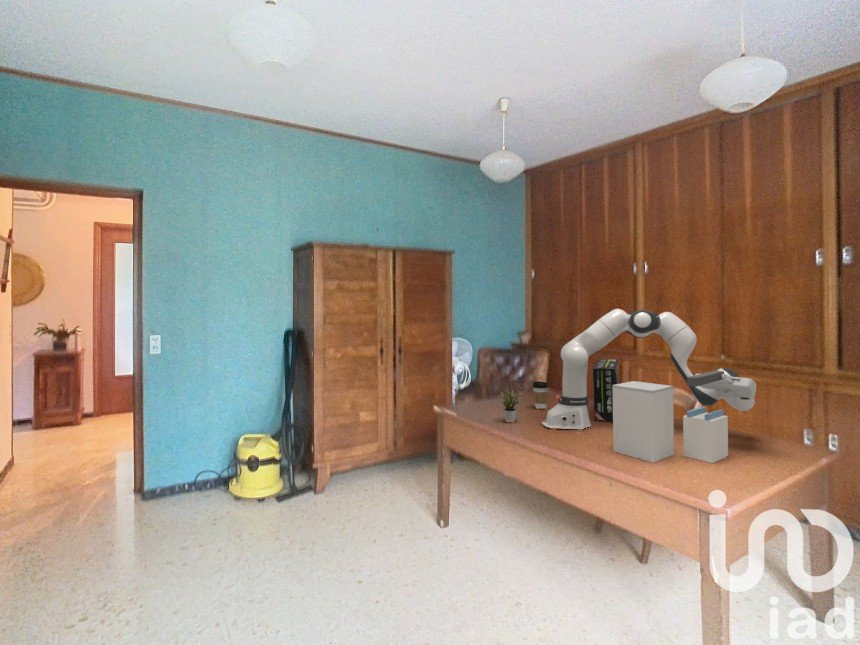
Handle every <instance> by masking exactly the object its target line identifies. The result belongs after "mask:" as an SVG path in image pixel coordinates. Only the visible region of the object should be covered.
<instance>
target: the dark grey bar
mask: <svg viewBox="0 0 860 645" xmlns="http://www.w3.org/2000/svg"><path fill="white" fill-rule="evenodd" d="M698 374H699V375H695V374H694V375H693V376H690V377H687V383H686V386H688V387H689V386H695V387H696V386H700V385H704V384H708V383H712V382H716V381H720V380H723V379H721V378H720V374H724V371H717V370H712V371H708V372H704V373H698Z"/></svg>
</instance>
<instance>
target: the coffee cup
mask: <svg viewBox="0 0 860 645" xmlns="http://www.w3.org/2000/svg"><path fill="white" fill-rule="evenodd" d="M548 383H549V382H546V381H536V380H535V381H533V382H532V388H533V401H534V408H535V407H536V408H546V409H547V404H548V403H547V402H548V388H549V384H548Z"/></svg>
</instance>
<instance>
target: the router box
mask: <svg viewBox="0 0 860 645" xmlns="http://www.w3.org/2000/svg"><path fill="white" fill-rule="evenodd" d="M619 368H620V366H619V359H609V358H608V359H607V358H599V359H597V361H596V362H595V364H594V365H593V366H592V383H593V386H592V387H593V411H594V412H593V414H594V417H593V419H595V420H604V421H605V420H606V421H613V387H612V385H616V384H620V373H619ZM604 421H603V422H604Z"/></svg>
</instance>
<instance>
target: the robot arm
mask: <svg viewBox="0 0 860 645" xmlns="http://www.w3.org/2000/svg"><path fill="white" fill-rule="evenodd" d="M623 332H626V333H627V334H629V335H631V336H633V337H635V338H638V339H645V338H648V337H649V336H650V335H651V334H652V333H653V334H657V335H659V336H660V337H662V339H663V340H664V341H665V342H666V344H668V346H669V348H670V352H671V353H670V355H669V356H670V357H669V358H671V361H672V363H673V364H674V366H675V367H676V369H677V371H678V373H679V374H680V376H681V377H682V379H683V380H684V382H685V383H686V384H687V377H690V376H695V375H699V374H700V373H696V374H693V373H692V372H691V370H690V369H689V366H688V359H689V357H690V355H692V352H693V350H694V349H695V347H696V344H697V340H698V338H697V335H696V334H695V331H693V330H692V328H691V327H690V326H689V325H688V324H687V323H686V322H684V320H682V319H680V317H678V315H675V314H674V313H673V312H670V311H664V312H661V313H660V314H658V313H655V312H652V311H650V310H646V309H637V310H635V311H634V312H632V313H631V314H628V313H627V312H626V311H625V310H624V309H620V308H614V309H612V310H610V311H609V312H608V313H606V314H605V315H603V316H602V317H600V318H599V319H598V320H597V321H594V323H592V324H591V325H590V326H589V327H588V328H587V329H585V330H584V331H583V332H581V333H580V334H578V335H576V336H575V337H574V338H572V339H571V340H570V341H568V342H567V343H565V345H563V347H562V348H561V350H560V358H561V360H562V363H563V364H562V379H561V380H562V385H561V388H562V395H558V394H557V395H556V396H555V398H556V400H557V401H558V403H557V404H556V405H555V406H553V407H552V408H550V409H549V410H548V411H547V414H546V419H543V420H544V421H545V420H546V422H543V420H542V421H541V425H542V424H543V425H544V426H546V427H549V428H562V429H584V428H586V429H588V428H587V427H589V428H591V427H592V424H591V420H590V416H589V410H588V408H589V397H588V386H587V385H588V384H587V382H588V369H589V367H588V366H589V357H590V356H591V355H593V354H595V353H596V352H598V351H600V350H601V349H603V348H604V347H606V346H607V345H608V344H609V343H611V341H613V340H614V339H616V338H617V337H618V336H619V335H620V334H622V333H623ZM716 371H724V374H720V378H721V379H723V380H720V381H716V382H712V383H708V384H704V385H700V386H696V387H695V386H688V387H689V389H690V390H691V393H692V395H693V397H694V399H695V400H696V401H697V402H698V403H699V404H700V405H702V406H704V407H706V406H707V407H708V406H709V407H711V406H712V407H713V406H714V405H715V404H716V403H717V402H719V400H721V399H723V400H724V401H726V403H728V404H729V406H731V407H732V408H734V409H735V410H737V411H741V412H745V411H749V410H751V409H752V408H754V405H755V404H756V401H755V396H756V393H757V392H756V391H757V382H755V381H754V380H753V379H752V378H748V377H740V376H739V375H738V374H737V373H736V372H735V371H734V370H733V369H731V368H727V367H720V368H718V369H717V370H716ZM543 425H542V426H543ZM590 426H591V427H590ZM584 430H585V429H584Z"/></svg>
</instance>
